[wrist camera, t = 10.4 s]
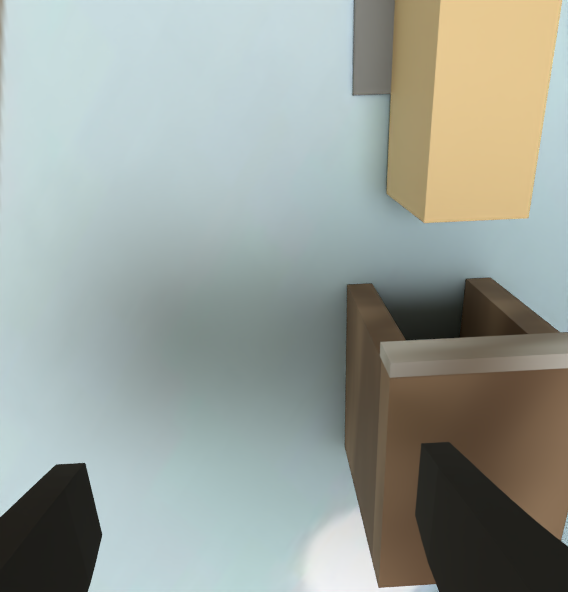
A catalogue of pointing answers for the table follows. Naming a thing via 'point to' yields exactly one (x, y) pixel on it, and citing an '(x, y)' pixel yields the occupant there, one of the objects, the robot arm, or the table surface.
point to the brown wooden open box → (453, 415)
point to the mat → (373, 46)
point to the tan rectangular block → (468, 105)
